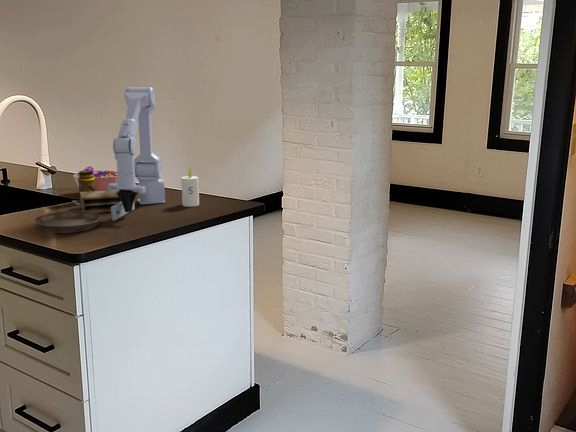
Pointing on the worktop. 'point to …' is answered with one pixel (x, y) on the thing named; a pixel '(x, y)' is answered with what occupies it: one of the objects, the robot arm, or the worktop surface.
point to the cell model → (101, 178)
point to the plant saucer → (68, 221)
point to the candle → (190, 190)
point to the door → (119, 211)
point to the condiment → (85, 183)
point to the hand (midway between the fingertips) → (128, 211)
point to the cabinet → (99, 200)
